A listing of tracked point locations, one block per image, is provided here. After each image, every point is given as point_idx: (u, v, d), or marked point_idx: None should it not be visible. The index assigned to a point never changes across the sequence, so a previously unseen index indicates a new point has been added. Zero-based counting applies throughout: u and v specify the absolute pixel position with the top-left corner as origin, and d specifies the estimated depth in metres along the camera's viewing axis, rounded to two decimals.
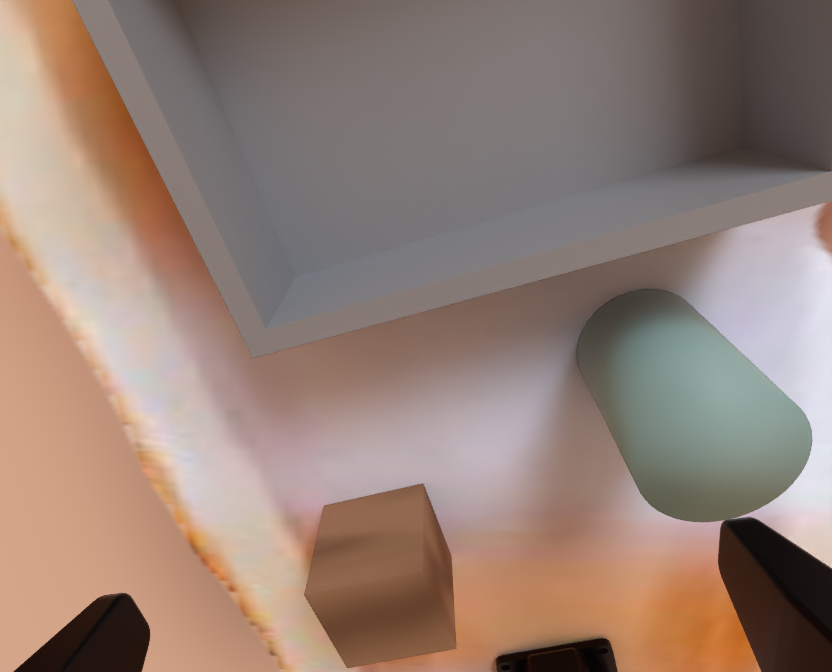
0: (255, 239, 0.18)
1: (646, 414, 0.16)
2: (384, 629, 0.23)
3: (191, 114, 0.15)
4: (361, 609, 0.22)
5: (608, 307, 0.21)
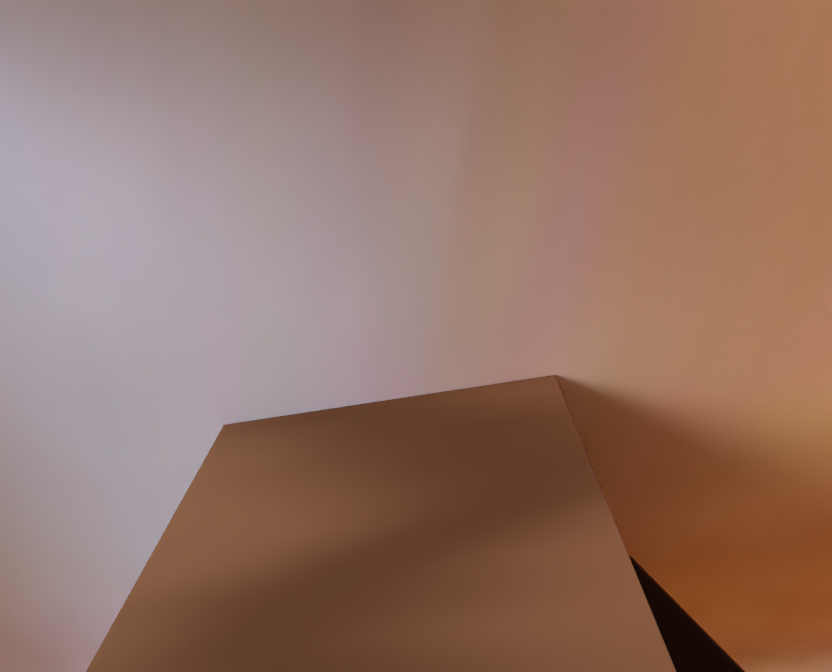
0: None
1: None
2: None
3: None
4: None
5: None
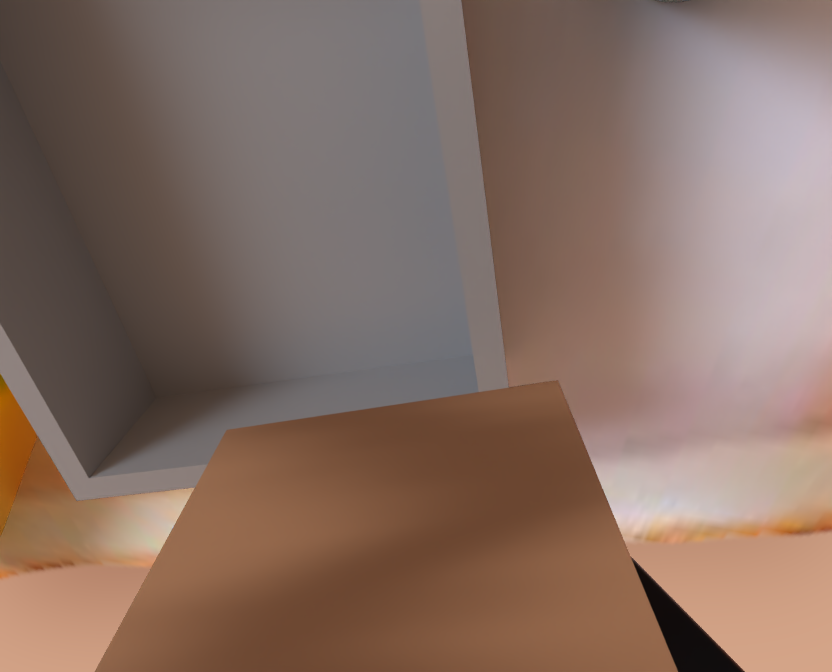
0: (410, 395, 0.17)
1: None
2: None
3: None
4: None
5: None
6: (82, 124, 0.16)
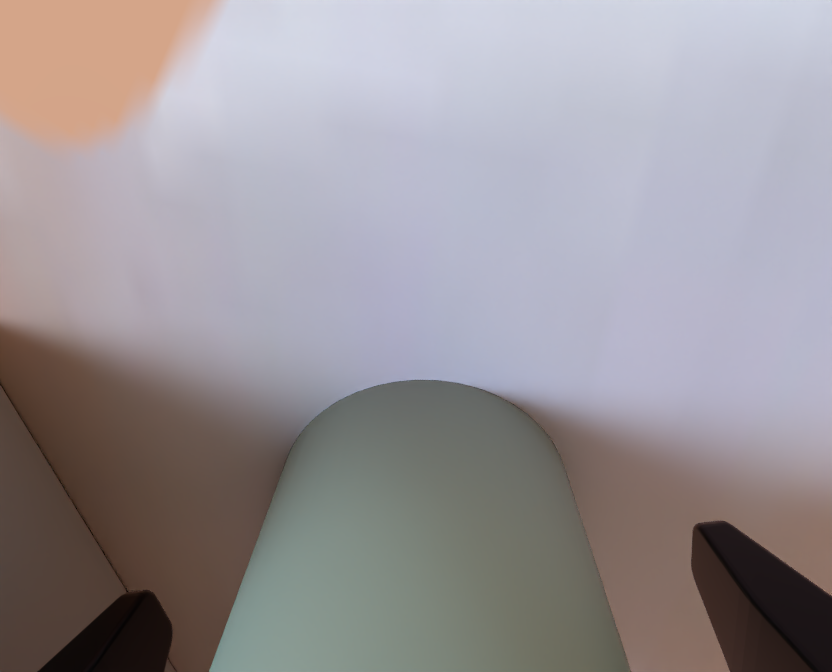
0: None
1: None
2: None
3: None
4: None
5: None
6: None
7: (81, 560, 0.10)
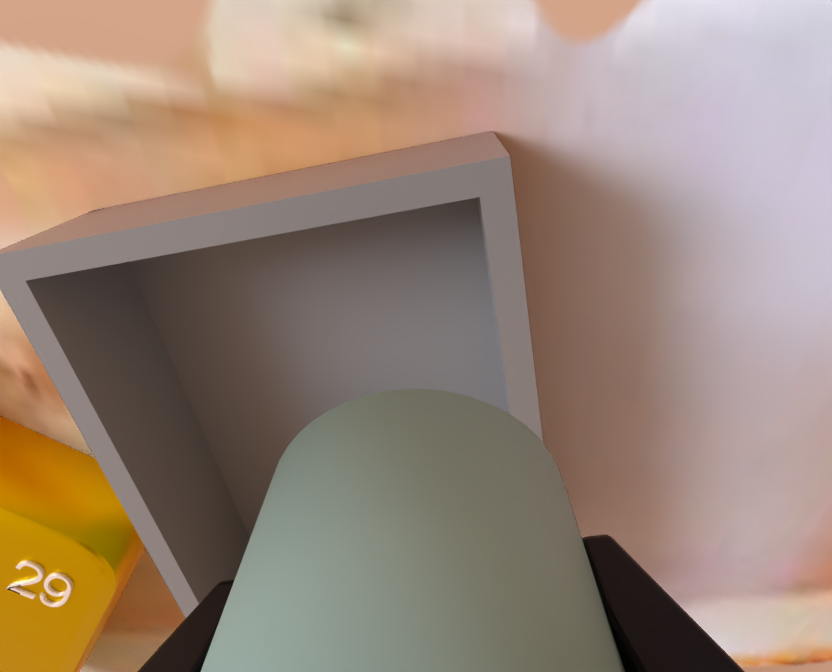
0: None
1: None
2: None
3: None
4: None
5: None
6: (225, 391, 0.21)
7: None
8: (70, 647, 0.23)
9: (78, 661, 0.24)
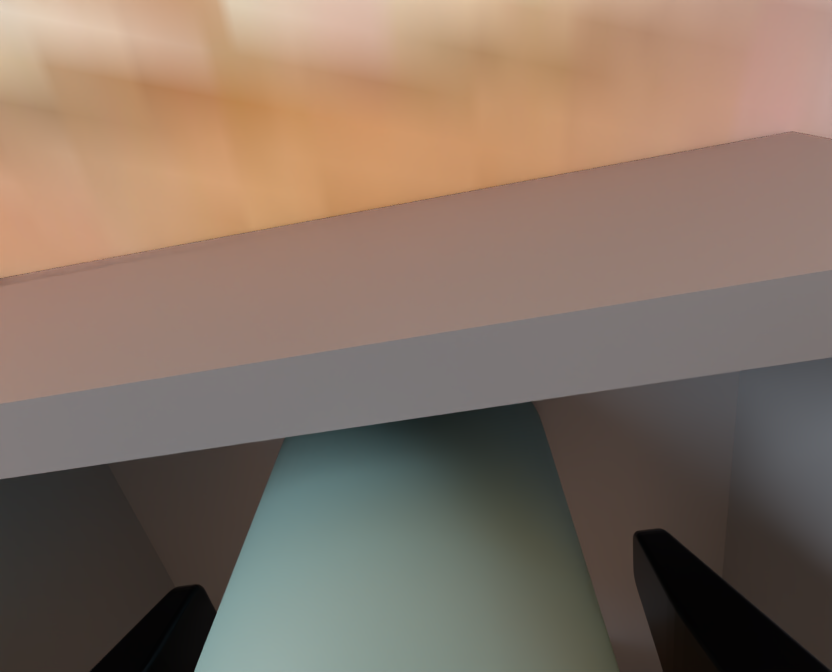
0: None
1: None
2: None
3: None
4: None
5: None
6: None
7: None
8: None
9: None
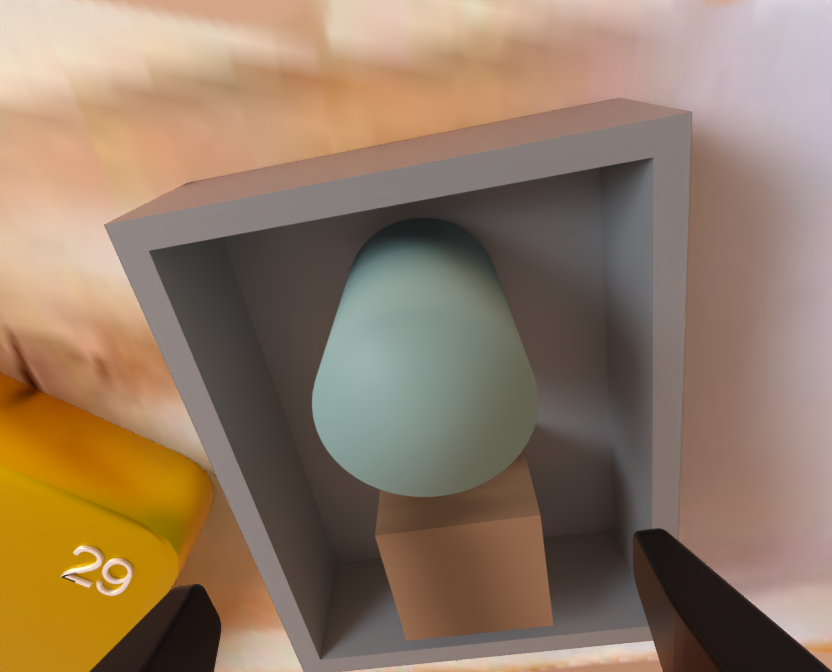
0: (572, 578, 0.21)
1: None
2: (481, 582, 0.17)
3: None
4: (439, 598, 0.18)
5: None
6: (315, 376, 0.20)
7: None
8: None
9: None
